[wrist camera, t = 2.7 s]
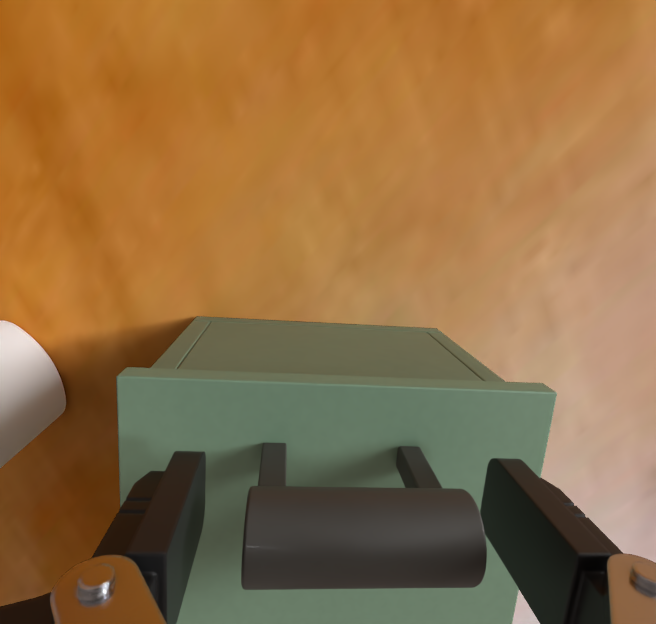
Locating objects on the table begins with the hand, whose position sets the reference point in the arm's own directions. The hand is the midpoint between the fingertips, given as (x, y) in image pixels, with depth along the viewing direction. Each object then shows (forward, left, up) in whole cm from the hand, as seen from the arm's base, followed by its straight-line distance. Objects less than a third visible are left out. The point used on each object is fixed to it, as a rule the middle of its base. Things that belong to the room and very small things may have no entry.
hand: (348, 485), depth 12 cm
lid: (+6, 0, -2) cm, 6 cm away
